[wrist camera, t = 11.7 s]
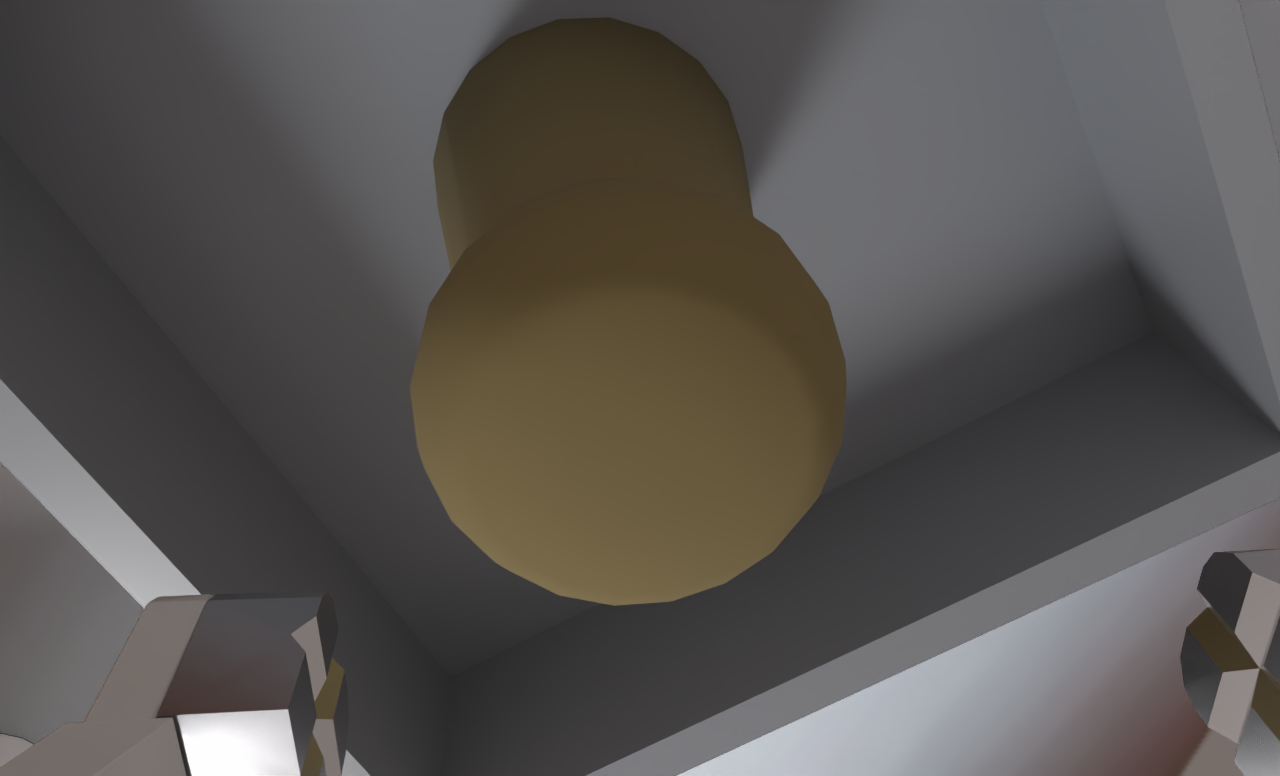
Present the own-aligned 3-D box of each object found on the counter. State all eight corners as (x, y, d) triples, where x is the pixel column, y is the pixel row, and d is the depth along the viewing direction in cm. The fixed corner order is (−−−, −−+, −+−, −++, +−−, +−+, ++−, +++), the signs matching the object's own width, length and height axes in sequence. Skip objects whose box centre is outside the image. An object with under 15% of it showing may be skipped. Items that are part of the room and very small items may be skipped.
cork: (655, -48, 20) (779, 78, 10) (793, 232, 23) (996, 544, 13) (369, 118, 21) (232, 380, 11) (535, 369, 24) (542, 759, 14)
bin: (1184, 328, 26) (1356, 462, 20) (440, 692, 28) (420, 893, 23) (846, -717, 17) (993, -964, 12) (-179, -42, 20) (-439, 10, 14)
